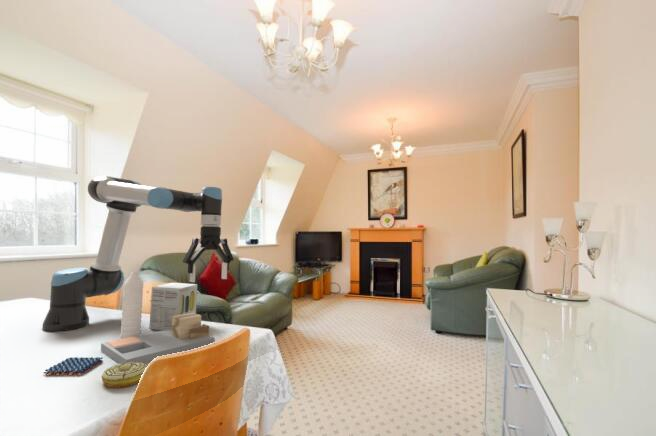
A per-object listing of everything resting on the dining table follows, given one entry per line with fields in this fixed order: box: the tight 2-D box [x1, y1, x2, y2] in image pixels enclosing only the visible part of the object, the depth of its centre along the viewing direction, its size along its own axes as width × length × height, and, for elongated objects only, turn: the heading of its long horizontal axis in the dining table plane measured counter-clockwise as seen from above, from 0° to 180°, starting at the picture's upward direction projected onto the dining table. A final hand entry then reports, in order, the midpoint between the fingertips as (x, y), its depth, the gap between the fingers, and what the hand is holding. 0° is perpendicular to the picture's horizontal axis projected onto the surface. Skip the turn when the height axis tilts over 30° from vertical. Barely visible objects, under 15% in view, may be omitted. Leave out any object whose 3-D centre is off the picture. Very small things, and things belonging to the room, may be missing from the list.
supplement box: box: [148, 282, 198, 331], centre depth 140 cm, size 13×13×18 cm
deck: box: [100, 329, 216, 364], centre depth 114 cm, size 22×29×3 cm
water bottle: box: [120, 270, 152, 339], centre depth 125 cm, size 9×6×25 cm
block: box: [171, 313, 202, 339], centre depth 121 cm, size 6×8×7 cm
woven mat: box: [43, 356, 104, 377], centre depth 95 cm, size 10×11×2 cm
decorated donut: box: [101, 362, 148, 389], centre depth 89 cm, size 10×11×4 cm
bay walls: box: [189, 323, 210, 340], centre depth 122 cm, size 12×7×4 cm, turn 51°
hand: (208, 280), depth 128 cm, fingers open, 13 cm apart
